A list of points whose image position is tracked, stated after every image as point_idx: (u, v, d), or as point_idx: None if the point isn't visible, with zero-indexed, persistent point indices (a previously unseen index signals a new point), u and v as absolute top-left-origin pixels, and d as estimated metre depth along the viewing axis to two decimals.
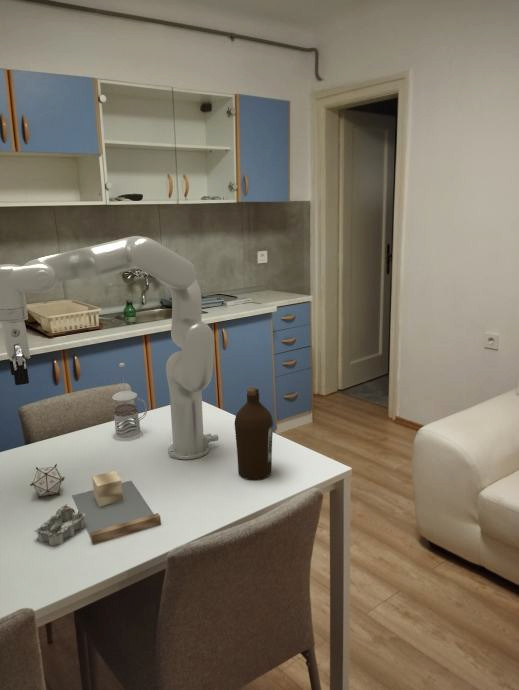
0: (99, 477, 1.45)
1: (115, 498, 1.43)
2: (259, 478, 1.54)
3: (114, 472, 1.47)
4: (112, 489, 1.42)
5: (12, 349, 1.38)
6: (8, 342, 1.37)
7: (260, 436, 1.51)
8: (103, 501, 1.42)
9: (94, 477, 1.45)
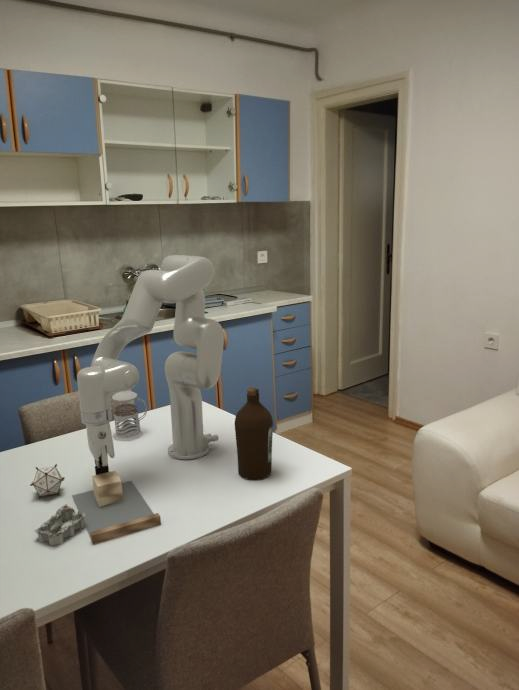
0: (99, 477, 1.44)
1: (115, 498, 1.43)
2: (259, 478, 1.54)
3: (114, 472, 1.47)
4: (112, 489, 1.42)
5: (99, 451, 1.41)
6: (95, 444, 1.41)
7: (260, 436, 1.51)
8: (103, 501, 1.42)
9: (94, 477, 1.44)
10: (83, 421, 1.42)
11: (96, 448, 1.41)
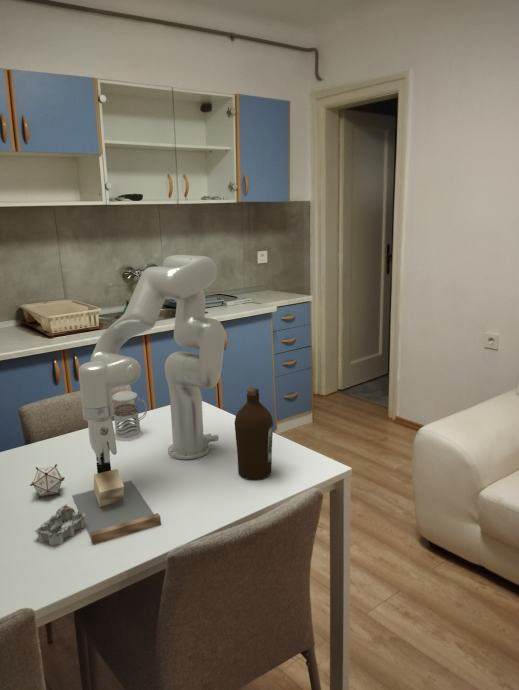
0: (101, 477, 1.42)
1: (116, 499, 1.43)
2: (259, 478, 1.54)
3: (116, 471, 1.44)
4: (114, 493, 1.41)
5: (101, 447, 1.39)
6: (97, 440, 1.38)
7: (260, 436, 1.51)
8: (104, 503, 1.41)
9: (96, 476, 1.42)
10: (85, 417, 1.39)
11: (98, 444, 1.38)
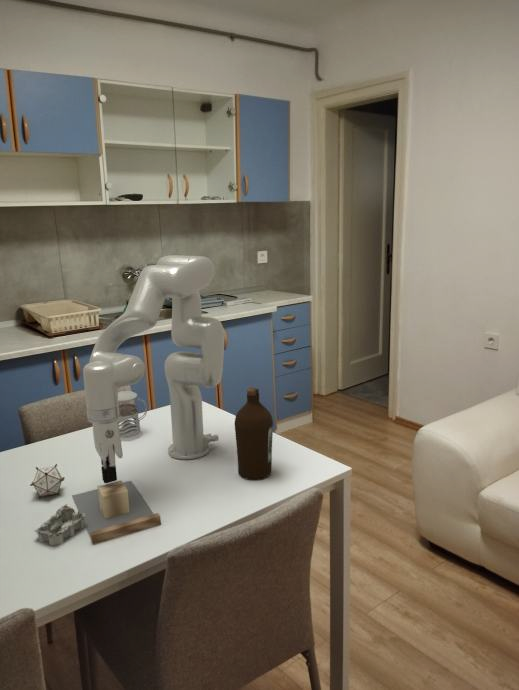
0: (109, 500, 1.36)
1: None
2: (259, 478, 1.54)
3: (126, 493, 1.38)
4: None
5: (106, 450, 1.33)
6: (102, 443, 1.32)
7: (260, 436, 1.51)
8: None
9: (105, 499, 1.35)
10: (89, 419, 1.33)
11: (103, 447, 1.33)
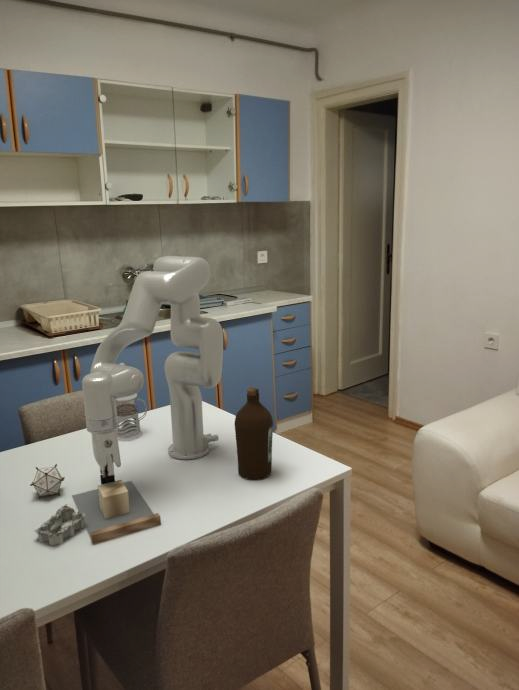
0: (110, 501, 1.36)
1: None
2: (259, 478, 1.54)
3: (126, 494, 1.37)
4: None
5: (105, 460, 1.36)
6: (101, 453, 1.36)
7: (260, 436, 1.51)
8: None
9: (105, 500, 1.35)
10: (88, 429, 1.37)
11: (102, 457, 1.36)
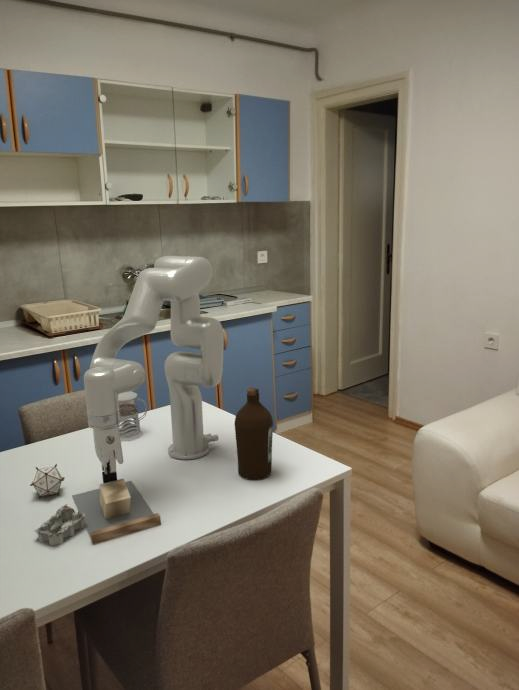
0: (112, 506, 1.34)
1: None
2: (259, 478, 1.54)
3: (129, 499, 1.36)
4: None
5: (107, 456, 1.33)
6: (103, 449, 1.33)
7: (260, 436, 1.51)
8: None
9: (107, 505, 1.34)
10: (90, 425, 1.34)
11: (104, 453, 1.33)
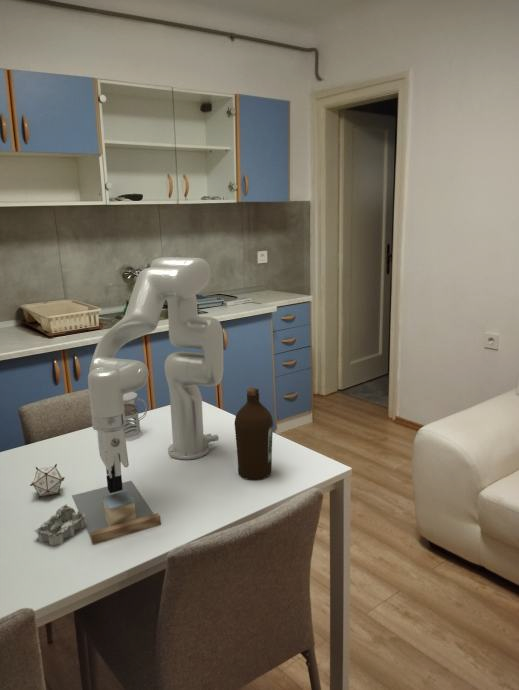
0: None
1: None
2: (259, 478, 1.54)
3: None
4: None
5: (111, 460, 1.29)
6: (108, 452, 1.28)
7: (260, 436, 1.51)
8: None
9: None
10: (94, 427, 1.29)
11: (109, 457, 1.28)
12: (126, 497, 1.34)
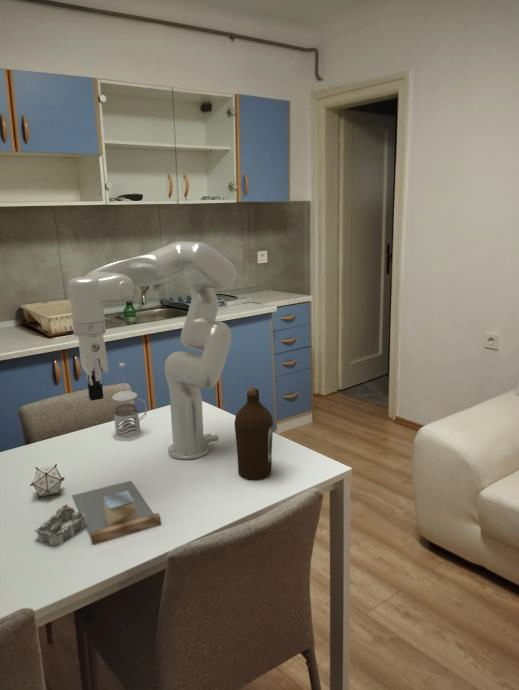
0: None
1: None
2: (259, 478, 1.54)
3: None
4: None
5: (92, 364, 1.34)
6: (88, 357, 1.34)
7: (260, 436, 1.51)
8: None
9: None
10: (75, 333, 1.34)
11: (89, 361, 1.34)
12: (126, 497, 1.34)
